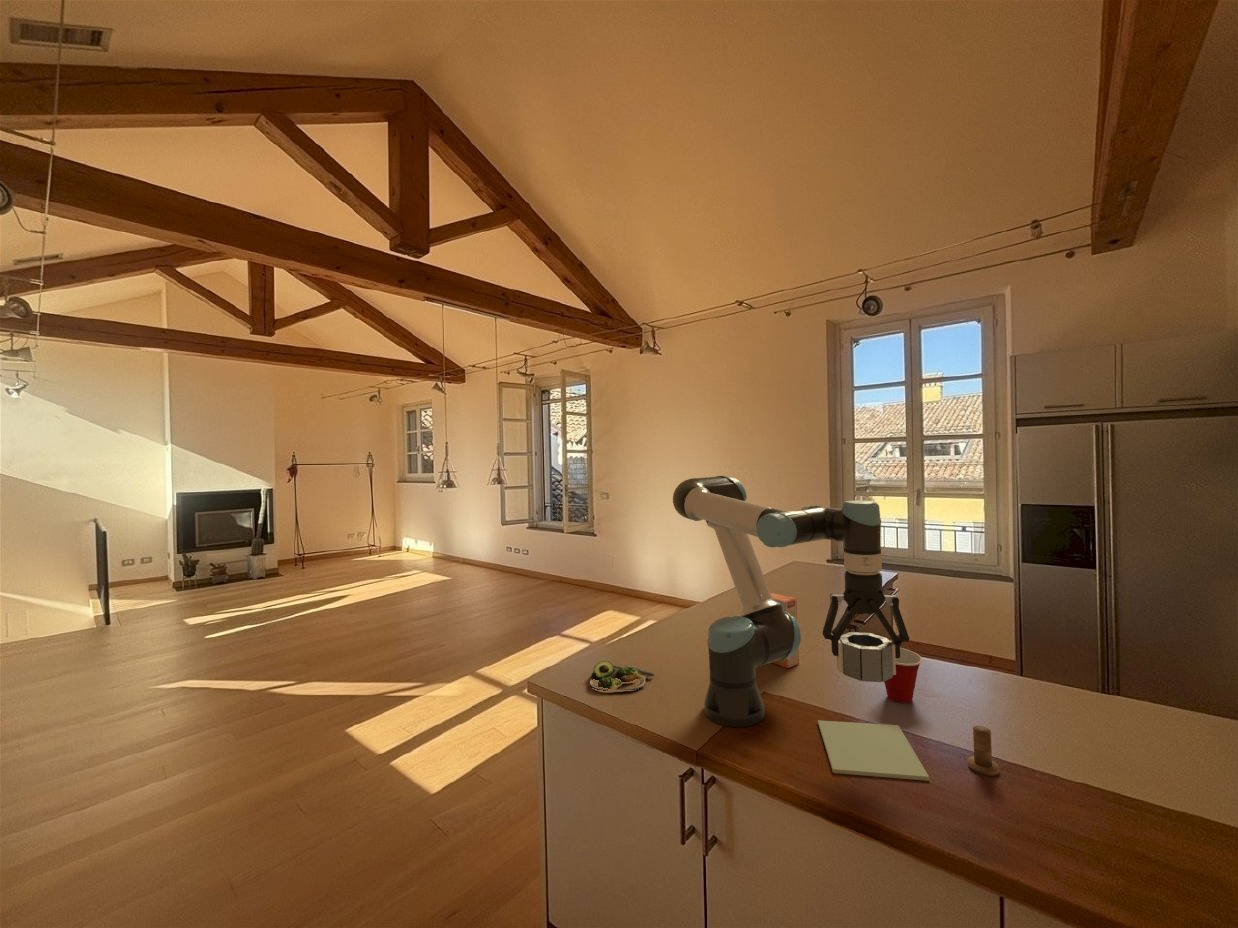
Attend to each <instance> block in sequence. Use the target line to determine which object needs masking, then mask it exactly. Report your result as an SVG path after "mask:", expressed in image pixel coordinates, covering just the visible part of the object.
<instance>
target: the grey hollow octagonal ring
mask: <svg viewBox="0 0 1238 928" xmlns="http://www.w3.org/2000/svg"><path fill="white" fill-rule="evenodd" d="M840 640H841V642H842V652H843V672H842V674H843V675H844V676H846V677H848V678H852V679H855V680H857V681H860V682H861V681H862V682H867V683H870V682H871V683H884V681H886V680H888V679H890V678H892V677H893V656H892V644H891V643H890V641H891V640H889V639H888V638H887V637H884V636H883V635H882V636H881V635H878V634H875V633H871V632H857V631H856V632H855V631H851V632H847V633H843V634H842V636H841V638H840Z"/></svg>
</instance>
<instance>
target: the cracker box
mask: <svg viewBox="0 0 1238 928" xmlns="http://www.w3.org/2000/svg"><path fill="white" fill-rule="evenodd" d="M770 594H771V596H772V599H773V600H774V601H776V602H778V603H780V604H781V607H782V609H783V611H784V612H787V613H789V614H791V616H793V617H794V618H795V619H796V621H797V622H798V609H797V607H798V605H797V603H798V602H797V598H796V597H791V596H788V595H787V596H786V595H782V594H778V593H775V592H774V593H773V592H770ZM799 648H800V647H799ZM799 648H798V650H797V651H796V653H795V654H793V655H792V656H789V657H787V658H786V659H783V660H778V661H775V662H772V663H771V664H775V665H777V666H780V667H783V668H786V669H789V668H792V667H795V666H798V665H799V664H800V655H799V653H800V649H799Z"/></svg>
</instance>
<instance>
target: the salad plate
mask: <svg viewBox="0 0 1238 928" xmlns="http://www.w3.org/2000/svg"><path fill="white" fill-rule="evenodd" d="M649 677H655V673H654V672H650V671H645V670H643V668H640V667H638V666H634V665H633V666H632V665H631V666H628V665H625V666H617V665H613V664H612V662H610V661H607V660H601V661H599V662H597V663H596V664H595V665H594V667H593V672H592V673H591V675H590V680H589V683H588V686H590V687H591V688H594V689H597V690H603V691H606V690H607V691H608V689H614V688H616V687H617V686H618V685H620V684H621V682H630V681H633V680H635V679H639V680H640V684H639V685H637V686H635V685H634V686H632V687H629V688H624V689H620V690H635V689H638V690H640V689H641V687H642V688H643V687H644V686H645V685H646V679H647V678H649ZM615 678H618V679H620V680H621V682H620V681H618V680H616V679H615ZM593 679H595V680H599V682H598V687H597V686H595V685H594V684H593V682H592V680H593ZM590 687H589V688H590ZM599 687H603V688H608V689H603V688H599ZM591 688H590V689H591ZM639 688H640V689H639Z"/></svg>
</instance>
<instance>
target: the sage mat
mask: <svg viewBox="0 0 1238 928" xmlns="http://www.w3.org/2000/svg"><path fill="white" fill-rule="evenodd" d="M817 725H818V728H819V731H820V734H821V738H822V741H823V743H824V747H825V751H826V754H827V757H828V761H829V765H830V767H831V771H832V773H833V774H842V775H843V774H844V775H852V776H853V775H854V776H865V777H866V776H868V777H880V778H893V779H902V780H903V779H905V780H915V781H916V780H917V781H926V782H927V781H928V782H929V781H930V775H928V773H927V771H926V769H925V767H924V765H923V764H922V762H921V761H920V759H919V757H918V756H917V754H916V752H915V751H914V749H913V747H912V745H911V744H910V742H909V740H908V739H907V738H906V736H905V734H904V732H903V730H902V729H901V727H900V725H899V724H898V725H897V724H885V723H884V724H883V723H868V722H867V723H865V722H852V721H849V722H848V721H832V720H817Z"/></svg>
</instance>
